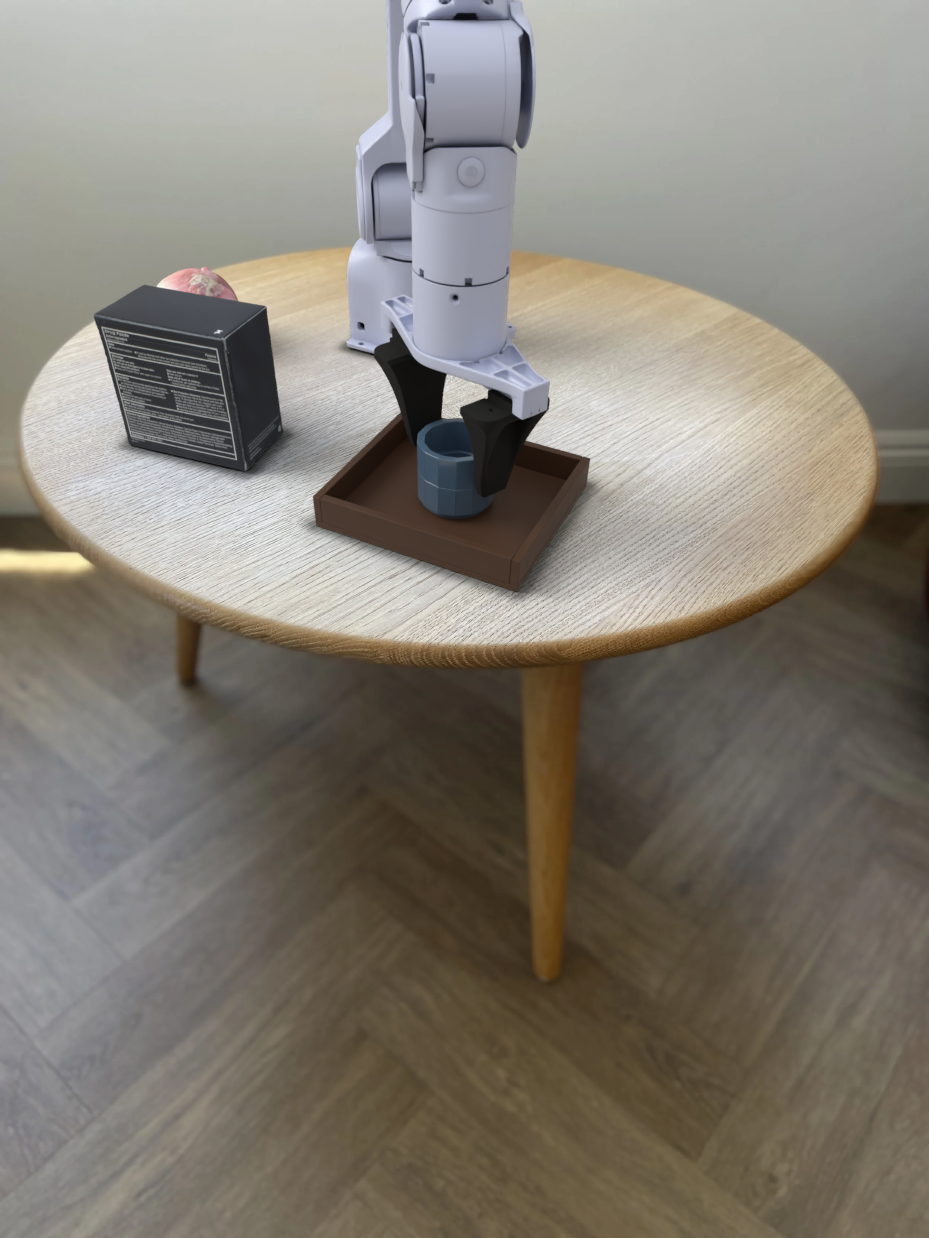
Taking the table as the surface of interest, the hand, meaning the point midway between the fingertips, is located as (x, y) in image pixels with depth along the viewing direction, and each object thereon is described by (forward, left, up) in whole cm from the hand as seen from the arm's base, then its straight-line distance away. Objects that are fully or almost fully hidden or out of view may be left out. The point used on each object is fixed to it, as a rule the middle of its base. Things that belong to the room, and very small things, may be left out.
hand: (456, 464), depth 60 cm
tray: (0, 0, -3) cm, 3 cm away
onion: (-31, +11, -4) cm, 33 cm away
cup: (0, 0, -3) cm, 3 cm away
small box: (-21, -1, -4) cm, 21 cm away
